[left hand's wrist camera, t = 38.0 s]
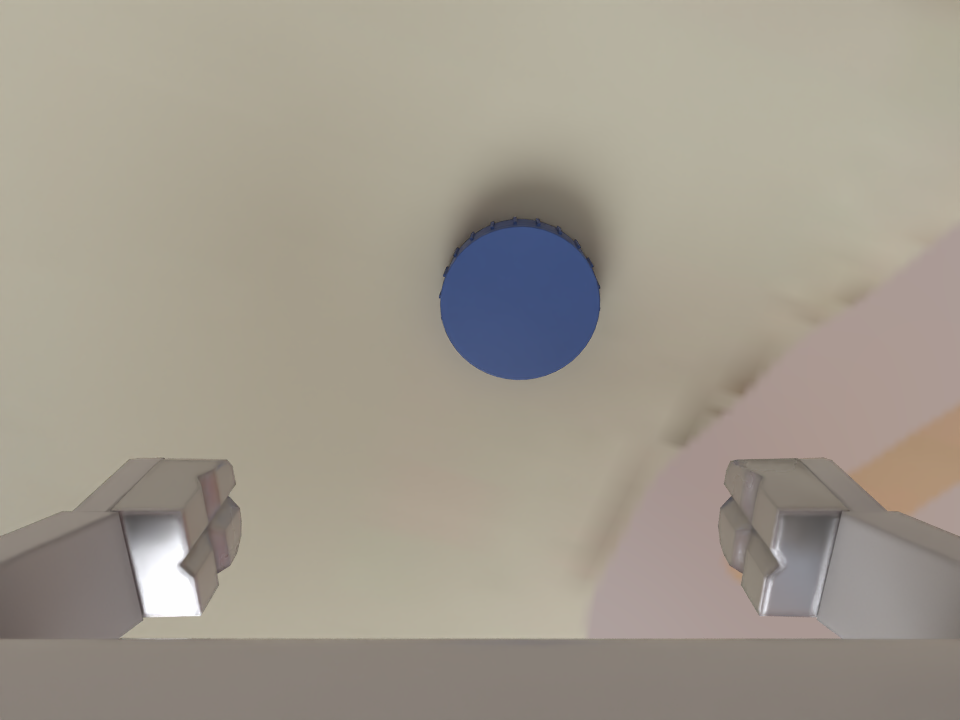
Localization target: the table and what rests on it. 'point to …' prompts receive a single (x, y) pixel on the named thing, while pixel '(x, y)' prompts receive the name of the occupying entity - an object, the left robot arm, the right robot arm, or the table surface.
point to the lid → (520, 299)
